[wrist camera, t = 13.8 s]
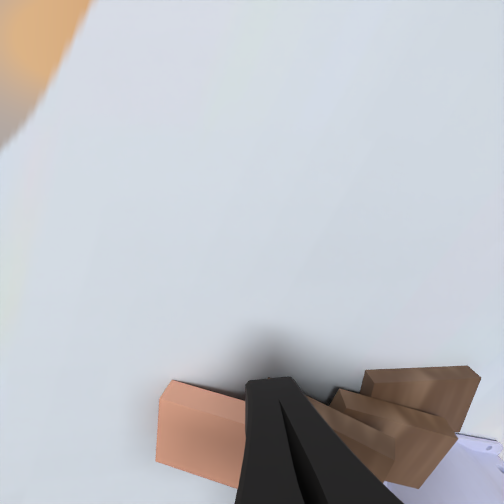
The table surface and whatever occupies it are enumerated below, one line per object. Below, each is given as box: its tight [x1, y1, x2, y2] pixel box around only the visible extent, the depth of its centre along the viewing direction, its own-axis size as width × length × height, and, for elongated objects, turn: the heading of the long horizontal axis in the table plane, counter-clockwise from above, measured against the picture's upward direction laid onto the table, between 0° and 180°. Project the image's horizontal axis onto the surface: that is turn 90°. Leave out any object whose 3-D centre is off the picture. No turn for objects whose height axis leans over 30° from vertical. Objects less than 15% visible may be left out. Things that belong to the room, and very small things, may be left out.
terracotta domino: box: [156, 380, 246, 489], centre depth 20 cm, size 2×5×8 cm
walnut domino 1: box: [268, 377, 395, 483], centre depth 20 cm, size 2×5×8 cm
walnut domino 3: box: [329, 388, 458, 489], centre depth 22 cm, size 2×5×8 cm
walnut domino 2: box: [360, 366, 481, 432], centre depth 24 cm, size 2×5×8 cm
